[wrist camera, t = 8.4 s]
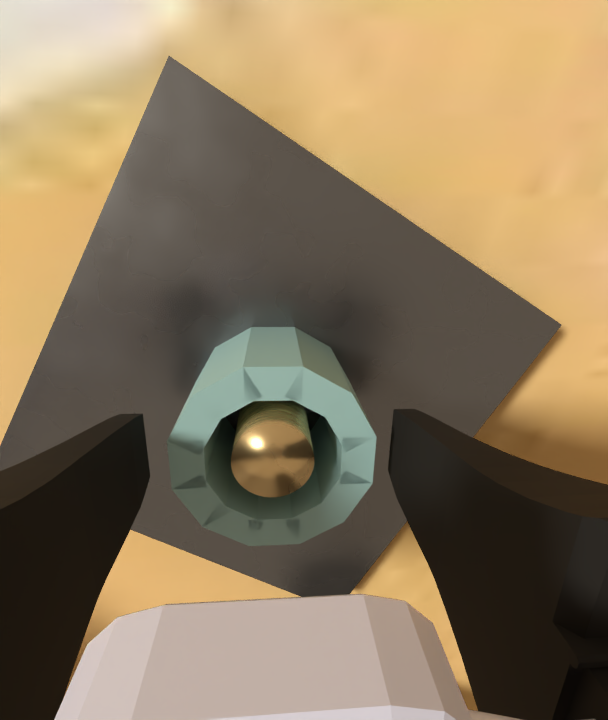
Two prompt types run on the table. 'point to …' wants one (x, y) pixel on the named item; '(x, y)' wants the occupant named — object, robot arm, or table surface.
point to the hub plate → (264, 322)
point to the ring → (216, 435)
